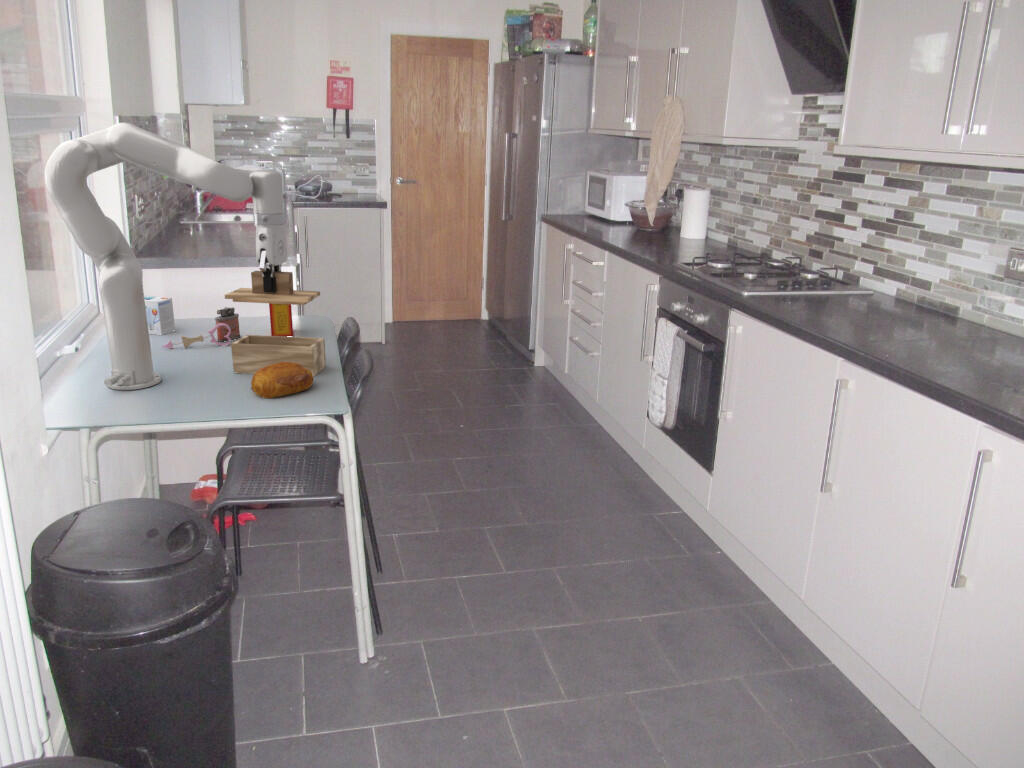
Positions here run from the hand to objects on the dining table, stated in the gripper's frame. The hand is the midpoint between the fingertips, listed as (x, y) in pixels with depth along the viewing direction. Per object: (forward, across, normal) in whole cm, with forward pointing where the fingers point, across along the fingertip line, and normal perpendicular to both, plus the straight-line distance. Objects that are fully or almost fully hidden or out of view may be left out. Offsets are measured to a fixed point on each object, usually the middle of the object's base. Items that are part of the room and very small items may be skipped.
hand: (272, 290), depth 215 cm
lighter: (+22, +28, +26) cm, 45 cm away
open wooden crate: (+22, 0, -1) cm, 22 cm away
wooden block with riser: (+2, 0, 0) cm, 2 cm away
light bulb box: (+23, +34, +53) cm, 67 cm away
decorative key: (+23, +19, +32) cm, 43 cm away
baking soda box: (+22, +38, +13) cm, 46 cm away
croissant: (+22, -16, -7) cm, 28 cm away
